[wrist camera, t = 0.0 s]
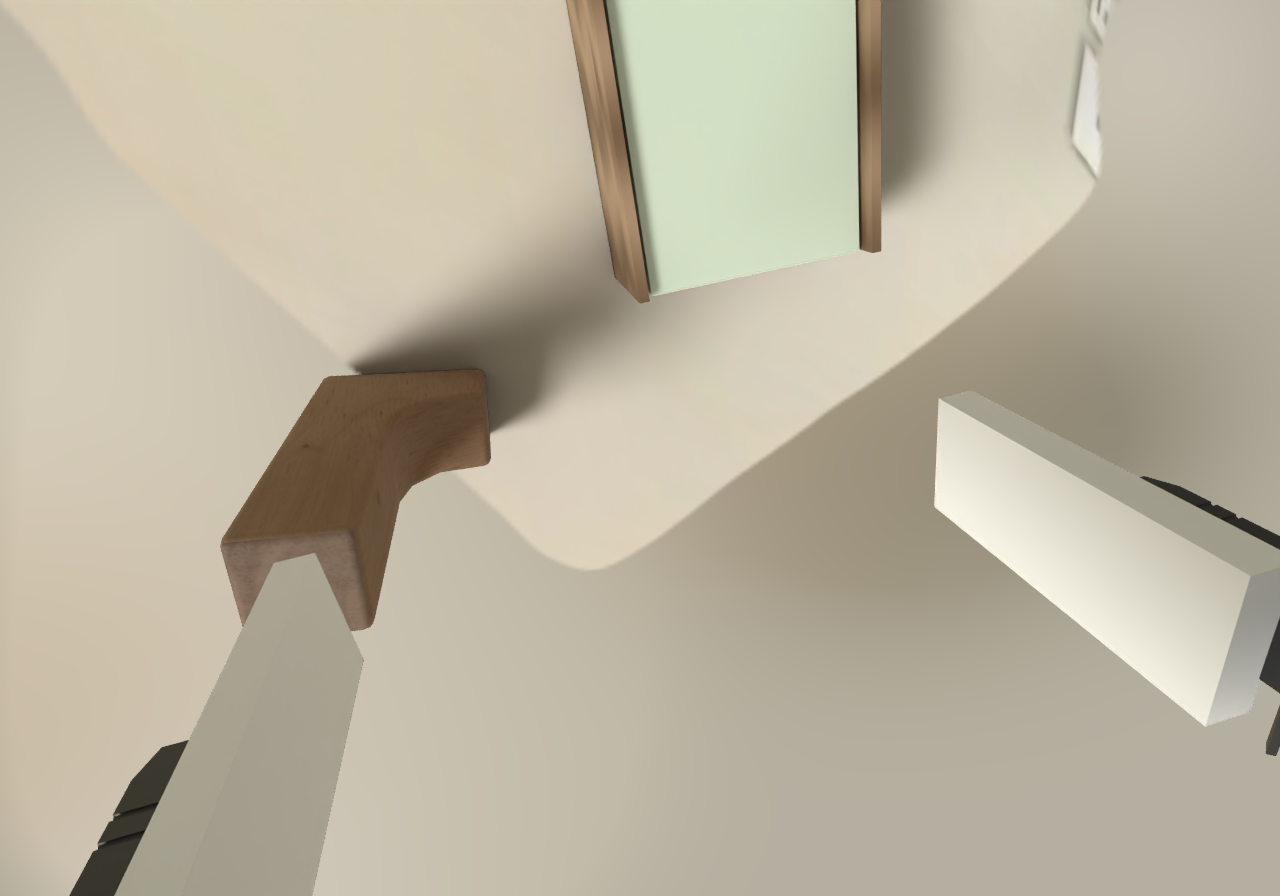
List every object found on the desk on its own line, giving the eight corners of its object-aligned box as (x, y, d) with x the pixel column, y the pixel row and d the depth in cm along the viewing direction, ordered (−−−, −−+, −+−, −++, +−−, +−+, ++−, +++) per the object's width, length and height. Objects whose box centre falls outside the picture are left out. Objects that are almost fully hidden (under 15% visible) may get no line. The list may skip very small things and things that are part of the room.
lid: (587, -84, 28) (603, -115, 25) (839, -120, 30) (888, -155, 26) (646, 291, 36) (665, 309, 32) (848, 248, 37) (887, 260, 33)
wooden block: (484, 366, 40) (488, 517, 24) (490, 435, 42) (497, 618, 26) (323, 374, 39) (213, 542, 23) (336, 446, 41) (243, 648, 25)
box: (556, -52, 33) (575, -96, 27) (808, -89, 34) (880, -139, 28) (614, 277, 40) (640, 303, 34) (820, 233, 41) (881, 251, 35)
